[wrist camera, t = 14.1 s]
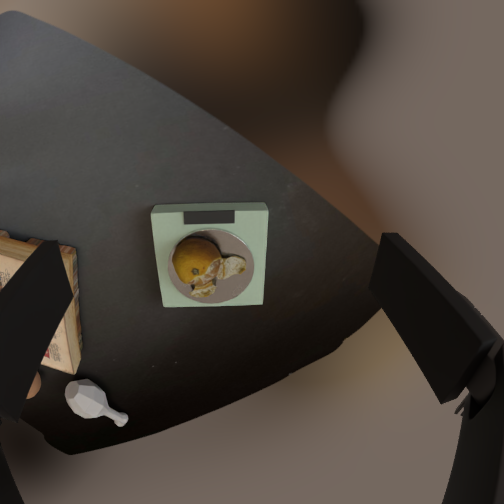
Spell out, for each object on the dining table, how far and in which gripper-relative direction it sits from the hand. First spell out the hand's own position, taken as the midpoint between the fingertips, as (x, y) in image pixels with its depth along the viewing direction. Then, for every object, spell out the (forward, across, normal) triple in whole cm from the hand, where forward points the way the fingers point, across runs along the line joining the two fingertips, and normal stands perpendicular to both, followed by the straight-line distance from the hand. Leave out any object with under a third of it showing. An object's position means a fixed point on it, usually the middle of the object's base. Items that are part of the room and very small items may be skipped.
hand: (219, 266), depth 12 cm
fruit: (+23, -2, -14) cm, 27 cm away
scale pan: (+24, -1, -15) cm, 28 cm away
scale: (+27, -1, -14) cm, 30 cm away
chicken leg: (+27, -27, -49) cm, 62 cm away
